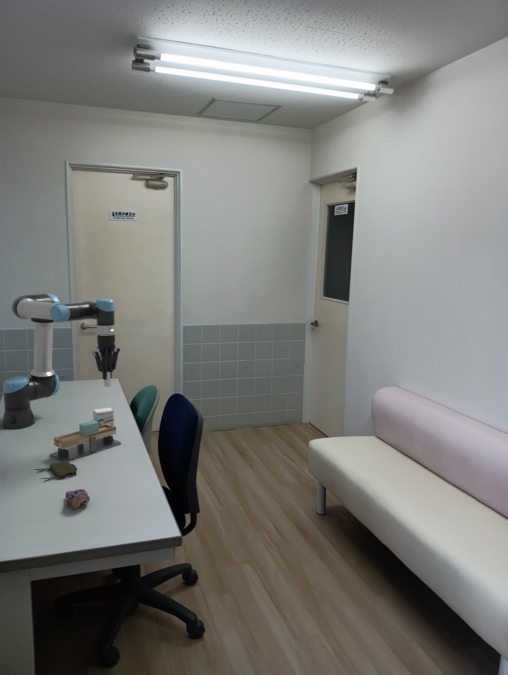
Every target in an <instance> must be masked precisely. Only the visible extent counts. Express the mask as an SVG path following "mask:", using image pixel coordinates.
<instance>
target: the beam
mask: <svg viewBox="0 0 508 675" xmlns="http://www.w3.org/2000/svg"><path fill="white" fill-rule="evenodd" d="M116 434H117V427H116V426H115V425H114V426H112V425H110V424H103V425H99V431H97V432H93V433H90V434H86V435H82V436H81V435H80V433H79V430H77V431H74V432H71V433H67V434H63V435H60V436H55V437H53V446H55V447H57V448H61V449H67V448H71V447H74V446H77V445H80V444H83V443H87V442H89V438H91V437H96V440H97V439H100V438H104V437H107V436H110V435H111V436H113V435H116Z"/></svg>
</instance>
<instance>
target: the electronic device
mask: <svg viewBox="0 0 508 675" xmlns="http://www.w3.org/2000/svg"><path fill="white" fill-rule="evenodd" d="M47 470H49V471H50V472H51V473H52V474H53V477H52V476H51V477H42V478H41V477H40V478H39V479H40V480H43V483H44V482H48V481H51V480H53V479H57V480H64V479H67V478H70V477H75V476H77V471H78V467H76V465H75V464H74V463H71V462H68V461H62V462H60V461H59V462H54V463H50V464H49V467H46V468H45V467H44V468H35V469H34V468H33V471H37V472H36V473H41V472H44V471H47Z"/></svg>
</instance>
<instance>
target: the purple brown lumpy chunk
mask: <svg viewBox="0 0 508 675" xmlns="http://www.w3.org/2000/svg"><path fill="white" fill-rule="evenodd" d="M65 501H66V502H65V505H66V506H67V508H68V509H70V510H72V509H73V510H74V509H77V508H79V507H80V506H81V505H83V504H84V505H85V504H88V503H89V502H90V501H91V496H89V493H88V492H87V490H85V489H84V488H79V489H74V490H68V491H66V492H65Z"/></svg>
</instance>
